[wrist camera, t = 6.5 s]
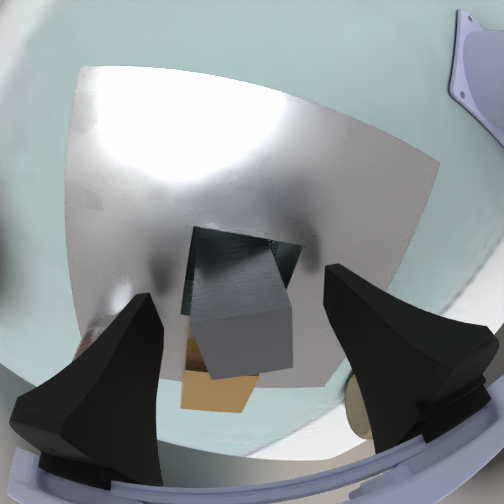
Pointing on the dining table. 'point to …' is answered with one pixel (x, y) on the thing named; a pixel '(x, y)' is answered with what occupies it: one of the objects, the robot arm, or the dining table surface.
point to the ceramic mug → (357, 410)
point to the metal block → (240, 306)
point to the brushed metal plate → (227, 207)
